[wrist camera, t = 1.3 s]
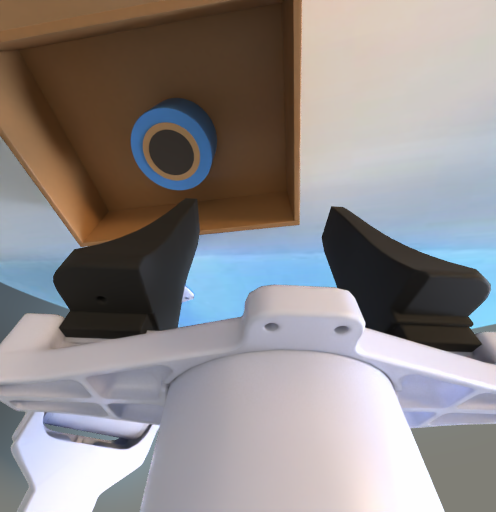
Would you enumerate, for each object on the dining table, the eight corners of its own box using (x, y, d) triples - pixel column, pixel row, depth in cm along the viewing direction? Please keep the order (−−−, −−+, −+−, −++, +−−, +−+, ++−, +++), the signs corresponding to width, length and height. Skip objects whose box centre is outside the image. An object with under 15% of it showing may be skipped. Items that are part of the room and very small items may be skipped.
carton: (109, 213, 24) (80, 247, 20) (13, 43, 16) (-68, 42, 12) (290, 192, 23) (299, 225, 19) (287, -8, 15) (302, -27, 10)
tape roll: (176, 181, 22) (166, 202, 19) (132, 121, 19) (111, 135, 16) (229, 153, 20) (226, 170, 17) (190, 81, 17) (179, 89, 14)
